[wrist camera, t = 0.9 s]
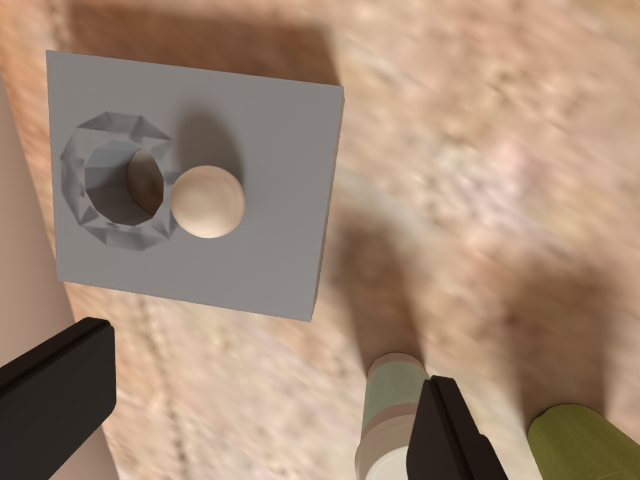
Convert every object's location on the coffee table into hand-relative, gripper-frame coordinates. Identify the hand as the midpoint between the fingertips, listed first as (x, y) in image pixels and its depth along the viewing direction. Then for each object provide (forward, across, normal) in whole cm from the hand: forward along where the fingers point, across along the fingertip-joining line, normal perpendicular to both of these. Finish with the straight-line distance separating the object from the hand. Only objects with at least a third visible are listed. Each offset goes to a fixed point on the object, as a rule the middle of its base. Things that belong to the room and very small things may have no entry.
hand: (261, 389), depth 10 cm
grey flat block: (+22, +11, -3) cm, 24 cm away
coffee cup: (+22, -9, +14) cm, 27 cm away
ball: (+14, +8, -3) cm, 16 cm away
